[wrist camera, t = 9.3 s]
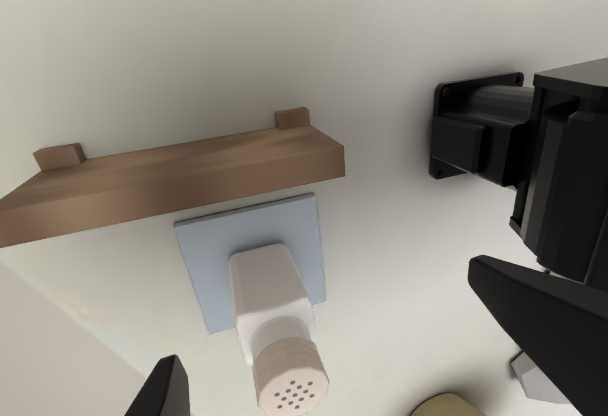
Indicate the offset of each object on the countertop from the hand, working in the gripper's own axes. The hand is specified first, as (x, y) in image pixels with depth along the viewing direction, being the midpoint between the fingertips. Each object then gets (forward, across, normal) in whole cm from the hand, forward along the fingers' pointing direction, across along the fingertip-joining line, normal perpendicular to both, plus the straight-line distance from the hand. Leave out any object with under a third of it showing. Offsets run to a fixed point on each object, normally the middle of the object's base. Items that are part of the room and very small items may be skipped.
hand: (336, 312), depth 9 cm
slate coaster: (+12, +2, +6) cm, 14 cm away
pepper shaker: (+12, +2, +6) cm, 14 cm away
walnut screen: (+12, +4, -2) cm, 13 cm away
